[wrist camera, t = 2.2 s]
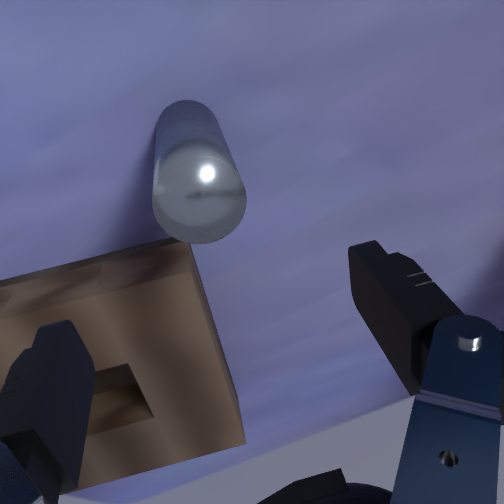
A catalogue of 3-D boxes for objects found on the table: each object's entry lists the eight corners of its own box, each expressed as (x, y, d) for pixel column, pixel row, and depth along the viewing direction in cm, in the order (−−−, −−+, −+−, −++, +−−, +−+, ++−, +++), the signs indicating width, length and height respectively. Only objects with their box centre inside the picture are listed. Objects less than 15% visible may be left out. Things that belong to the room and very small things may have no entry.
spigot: (211, 93, 27) (236, 147, 18) (225, 154, 29) (254, 231, 20) (147, 108, 27) (138, 170, 18) (166, 169, 29) (167, 253, 20)
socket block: (186, 233, 32) (190, 271, 27) (237, 397, 41) (246, 443, 37) (-64, 296, 31) (-101, 345, 27) (47, 448, 40) (33, 502, 36)
